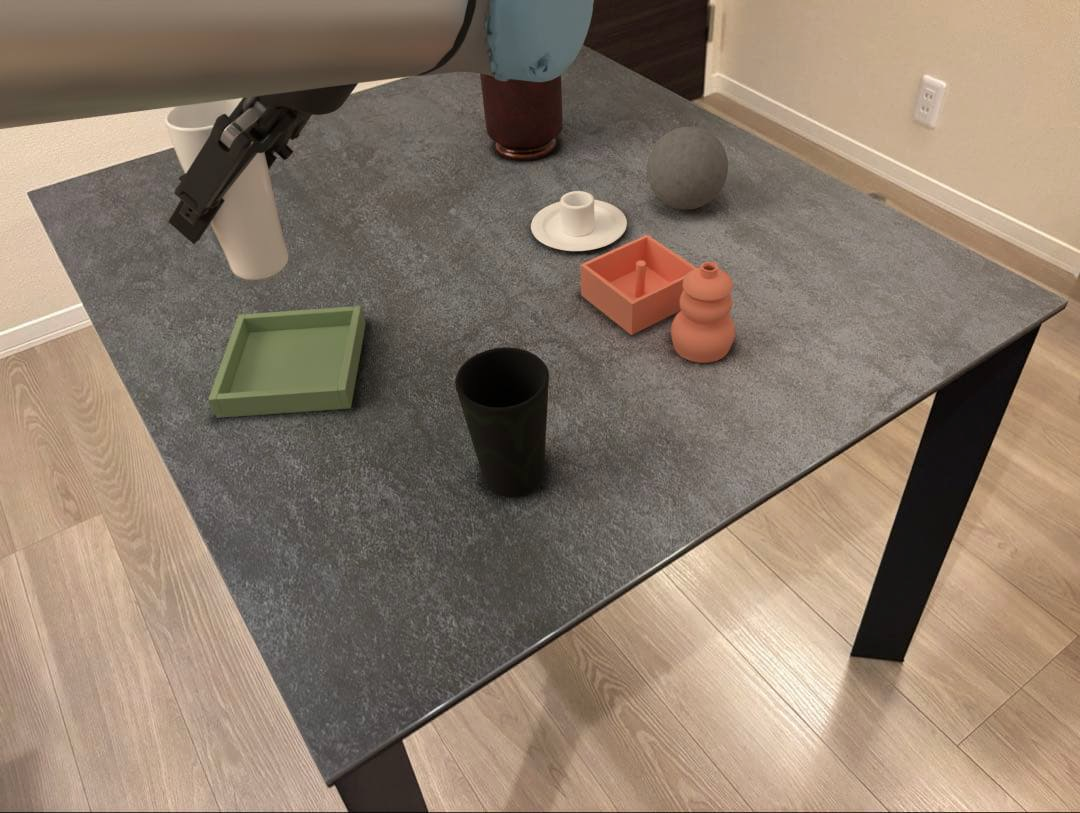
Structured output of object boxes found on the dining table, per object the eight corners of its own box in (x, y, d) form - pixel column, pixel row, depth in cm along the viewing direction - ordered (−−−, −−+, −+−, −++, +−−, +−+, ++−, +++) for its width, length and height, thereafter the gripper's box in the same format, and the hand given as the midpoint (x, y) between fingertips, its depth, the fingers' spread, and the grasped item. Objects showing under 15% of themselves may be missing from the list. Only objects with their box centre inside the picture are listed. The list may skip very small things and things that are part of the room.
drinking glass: (281, 237, 80) (232, 85, 70) (310, 268, 76) (262, 111, 65) (214, 263, 77) (152, 109, 67) (239, 297, 73) (177, 138, 63)
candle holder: (572, 194, 110) (570, 164, 107) (645, 222, 104) (647, 192, 101) (511, 235, 104) (508, 204, 101) (586, 267, 98) (586, 236, 95)
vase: (477, 161, 118) (453, -38, 100) (502, 126, 126) (484, -65, 107) (551, 168, 115) (541, -35, 97) (572, 132, 123) (566, -63, 105)
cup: (568, 456, 77) (564, 359, 68) (534, 517, 72) (524, 420, 63) (495, 434, 79) (481, 338, 71) (456, 491, 74) (437, 395, 66)
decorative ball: (738, 213, 104) (748, 138, 97) (668, 232, 102) (672, 158, 95) (699, 177, 111) (705, 106, 104) (632, 195, 109) (634, 123, 102)
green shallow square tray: (216, 418, 83) (207, 399, 81) (245, 332, 93) (238, 314, 91) (351, 408, 83) (345, 389, 81) (365, 323, 93) (360, 305, 91)
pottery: (581, 295, 94) (579, 220, 87) (645, 264, 98) (648, 190, 91) (687, 380, 83) (694, 301, 76) (756, 342, 87) (768, 264, 80)
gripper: (281, 143, 52) (173, 302, 69) (424, 28, 65) (304, 185, 81) (184, 50, 50) (96, 237, 67) (351, -50, 63) (243, 128, 79)
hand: (210, 208), depth 74 cm, fingers closed on drinking glass, 7 cm apart
